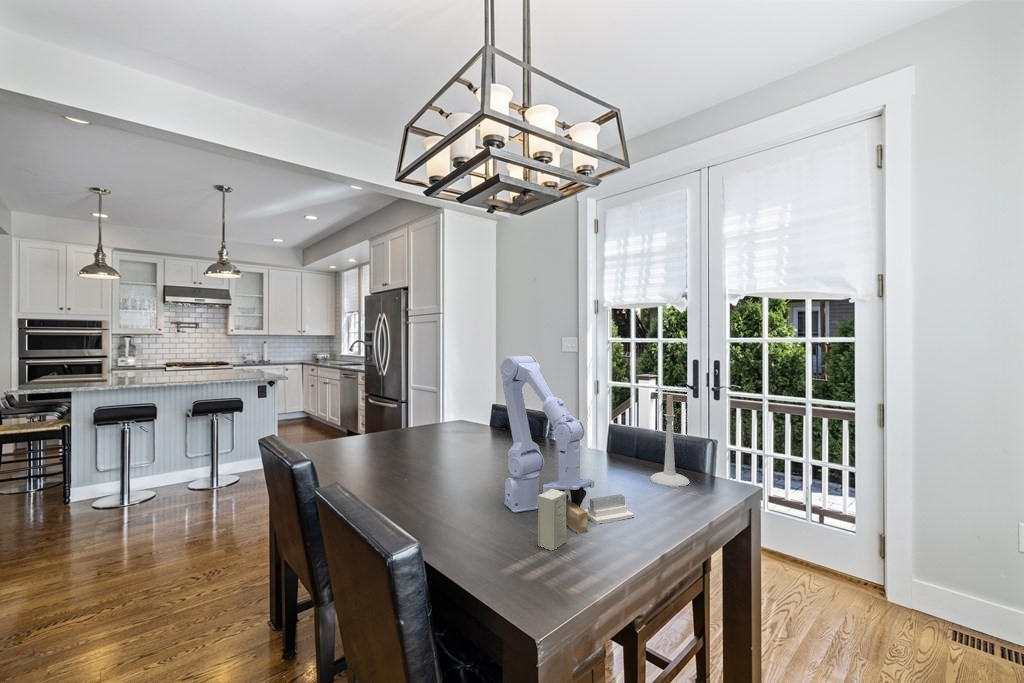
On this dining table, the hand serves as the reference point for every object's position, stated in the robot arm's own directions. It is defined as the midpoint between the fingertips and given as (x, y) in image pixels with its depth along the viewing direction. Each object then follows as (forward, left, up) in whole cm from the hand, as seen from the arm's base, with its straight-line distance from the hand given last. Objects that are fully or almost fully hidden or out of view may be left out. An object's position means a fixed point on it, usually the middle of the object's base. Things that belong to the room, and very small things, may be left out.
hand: (569, 516), depth 120 cm
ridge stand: (+12, 0, -1) cm, 12 cm away
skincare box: (-10, -10, -2) cm, 14 cm away
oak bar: (0, 0, -2) cm, 2 cm away
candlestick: (+49, +18, -2) cm, 52 cm away
